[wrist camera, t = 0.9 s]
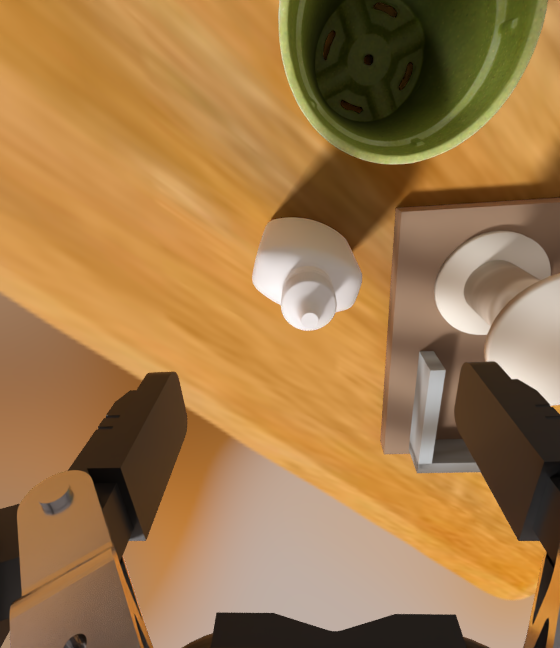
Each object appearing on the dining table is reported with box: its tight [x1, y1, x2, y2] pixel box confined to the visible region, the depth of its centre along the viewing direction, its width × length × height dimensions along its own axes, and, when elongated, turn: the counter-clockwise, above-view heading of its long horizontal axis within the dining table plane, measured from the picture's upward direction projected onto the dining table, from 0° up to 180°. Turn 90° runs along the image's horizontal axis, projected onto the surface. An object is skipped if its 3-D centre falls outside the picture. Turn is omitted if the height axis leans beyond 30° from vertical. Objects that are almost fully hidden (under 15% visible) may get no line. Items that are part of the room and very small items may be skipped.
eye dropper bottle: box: [252, 217, 362, 331], centre depth 20 cm, size 4×6×12 cm
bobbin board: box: [381, 197, 560, 473], centre depth 24 cm, size 20×12×10 cm, turn 4°
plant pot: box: [279, 0, 548, 164], centre depth 17 cm, size 9×9×9 cm
